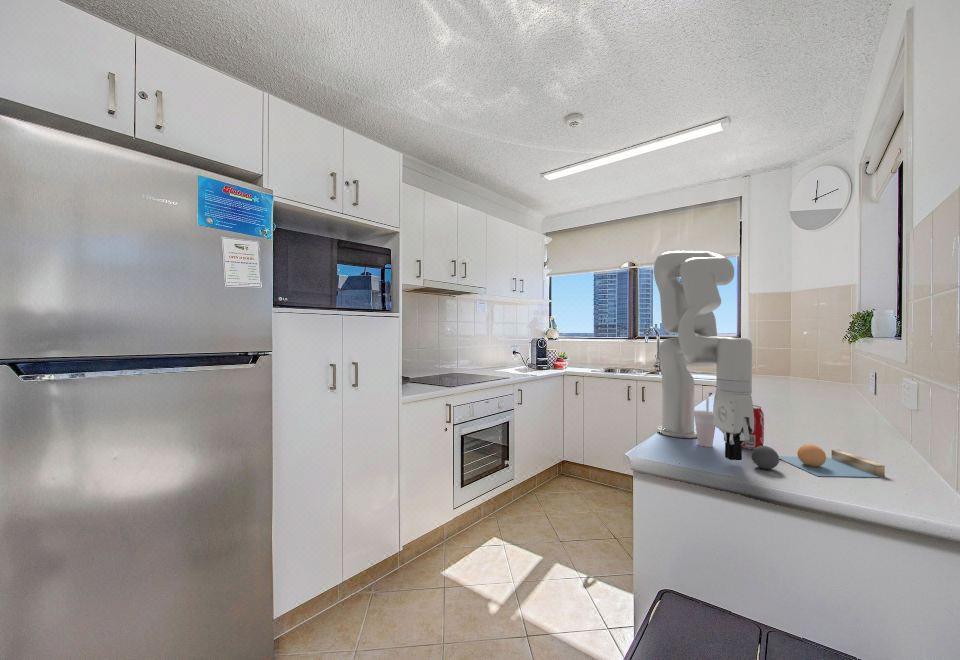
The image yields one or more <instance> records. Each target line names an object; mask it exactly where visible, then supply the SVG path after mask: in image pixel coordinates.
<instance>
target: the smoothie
mask: <svg viewBox="0 0 960 660" xmlns="http://www.w3.org/2000/svg"><path fill="white" fill-rule="evenodd" d="M709 402H710V399H709V397H708V398H707V397H706V404H705V405H706V408H705V410H694V412H693V415H694V425H695V429H696V432H697V437H696V438H697V445H698V446H699V447H703V446H705V447H704V448H712V447H713V446H714V438H715V432H716V427H715V426H714V425H713V411H709V409H710V408H709V406H710V404H709Z"/></svg>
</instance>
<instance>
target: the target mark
mask: <svg viewBox="0 0 960 660" xmlns="http://www.w3.org/2000/svg"><path fill="white" fill-rule="evenodd" d="M778 456H779V460H780V459H781V460H780V461H782V460H783V462H785V463H787V464H789V465H792V466H794V467H796V468H798V469H800V470H802V471H805V472H807V473H808V474H811V475H813V476H815V477H817V478H819V477H823V478H824V477H826V478H827V477H828V478H833V477H834V478H872V479H877V478H878V479H880V478H881V476H876V475H874V474H871V473H868V472H866V471H863V470H861V469H858V468H855V467H853V466H850V465H847V464H845V463H842V462H840V461H837V460H834V459H832V457H829V456H826V461H825V463H824V464H823V465H821V466H819V467H811V466H807V465H805V464H804V463H802V462H801V461H800V459H799V458H798V456H788V455H786V456H782V455H781V456H780V455H778Z"/></svg>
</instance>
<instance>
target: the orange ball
mask: <svg viewBox="0 0 960 660" xmlns="http://www.w3.org/2000/svg"><path fill="white" fill-rule="evenodd" d="M796 454H797V457H798V458H799V459H800V461H801V462H802V463H804V464H805V465H807V466H811V467H819V466H821V465H823V464H824V463H825V461H826V457H827V455H826V452H825V451H824V450H823V449H822V448H821V447H820V446H818V445H816V444H811V443H806V444H803V445H800V446H799V447H798V449H797V452H796Z"/></svg>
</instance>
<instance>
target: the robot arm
mask: <svg viewBox="0 0 960 660" xmlns="http://www.w3.org/2000/svg"><path fill="white" fill-rule="evenodd" d="M734 267H735V266H734V264H733V263H732V262H731V260H730V259H729V258H727V257H725V256H723V255H721V254H718V253H714V252H710V251H707V250H706V251H703V250H701V251H699V250H698V251H697V250H696V251H693V250H690V251H689V250H688V251H687V250H686V251H685V250H681V251H680V250H675V251H667V252H663V253H661V254H659V255H658V256H657V258H656V259H655V261H654V265H653V277H654V281H655V284H656V287H657V288H658V293H659V297H660V298H659V299H660V312H661V313H660V316H661V324H662V328H663V330H664V331H665V332H666V333H667V334H673V335H678V336H677V337H669V338H666V339H664V340H663V341H661V343H660V344H659V348H658V354H659V360H660V365H661V376H662V377H661V384H662V385H661V425H658V426H657V428H656V432H657V433H659V432H660V431H661V432H660V433H659V434H661V433H662V434H661V435H665V436H668V437H673V438H678V439H679V438H681V439H695V438H697V432H696V428H695V416H694V415H693V412H694V411H695V379H694V377H693V374H691V372H690V371H689V370H688V368H690V367H692V368H693V367H695V368H696V367H697V368H702V367H703V368H706V367H713V366H714V365H716V376H715V377H716V385H715V386H716V387H715V388H716V389H715V393H714V398H713V408H712V412H713V425H714V426H715V428H717V429H719V431H720V432H721V433H722V434H723V441H724V458H725V459H728V460H729V461H741V460H742V459H743V448H742V445H743V443H744V441H749V440H750V437H749V435H750V434H752V433H753V430H754V413H753V405H754V404H753V397H752V394H753V391H752V389H753V383H752V382H753V380H752V377H753V374H752V373H753V344H752V341H751V340H750V339H748V338H743V337H732V336H718V329H717V321H716V317H715V313H714V311H715V310H717V309H719V308H720V306H721V304H722V298H721V295H720V292H719V289H718V286H727V285H729V284H730V283H731V282H732V281H733V280H734V278H735V268H734ZM678 278H680V280H681V281H680V280H679V279H678ZM664 428H665V429H664ZM663 429H664V430H663Z"/></svg>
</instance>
